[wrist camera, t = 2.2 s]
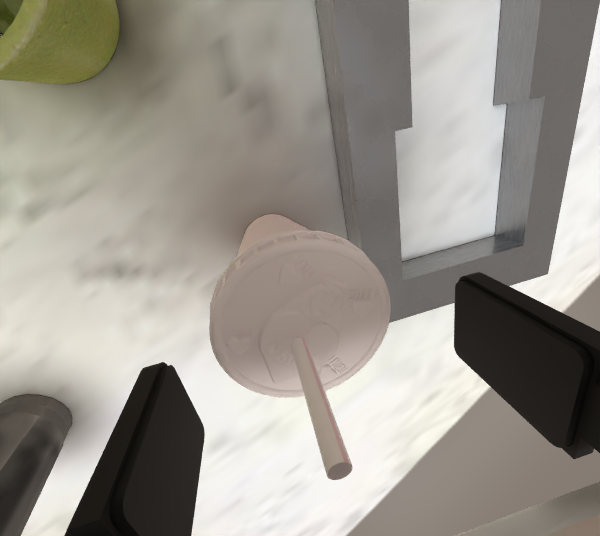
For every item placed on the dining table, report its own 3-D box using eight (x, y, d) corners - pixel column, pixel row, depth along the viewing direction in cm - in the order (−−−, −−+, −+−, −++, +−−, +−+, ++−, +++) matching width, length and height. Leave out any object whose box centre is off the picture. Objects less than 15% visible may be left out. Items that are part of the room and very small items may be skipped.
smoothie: (204, 264, 18) (131, 540, 5) (249, 171, 16) (295, 252, 4) (291, 300, 20) (383, 552, 8) (338, 221, 19) (551, 374, 6)
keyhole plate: (296, -135, 12) (309, -196, 10) (578, -170, 14) (643, -230, 11) (357, 310, 22) (371, 328, 20) (518, 262, 23) (547, 273, 21)
